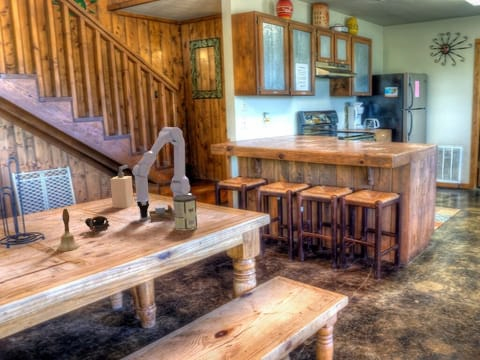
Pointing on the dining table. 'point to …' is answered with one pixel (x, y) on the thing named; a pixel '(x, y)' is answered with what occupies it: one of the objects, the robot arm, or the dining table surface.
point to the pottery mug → (97, 224)
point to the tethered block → (157, 210)
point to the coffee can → (185, 212)
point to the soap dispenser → (122, 190)
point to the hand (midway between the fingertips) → (144, 216)
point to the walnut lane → (163, 216)
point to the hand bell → (67, 235)
